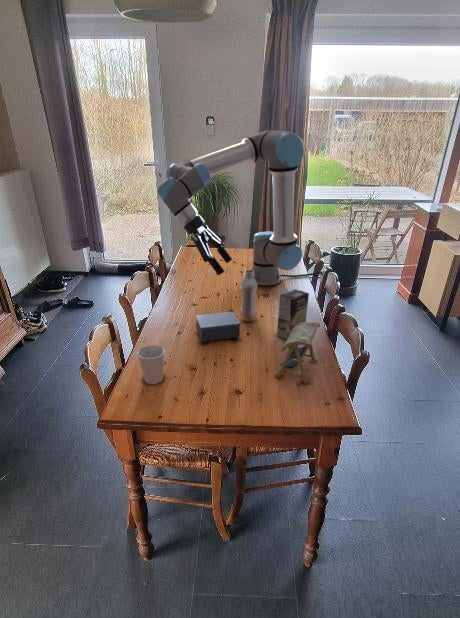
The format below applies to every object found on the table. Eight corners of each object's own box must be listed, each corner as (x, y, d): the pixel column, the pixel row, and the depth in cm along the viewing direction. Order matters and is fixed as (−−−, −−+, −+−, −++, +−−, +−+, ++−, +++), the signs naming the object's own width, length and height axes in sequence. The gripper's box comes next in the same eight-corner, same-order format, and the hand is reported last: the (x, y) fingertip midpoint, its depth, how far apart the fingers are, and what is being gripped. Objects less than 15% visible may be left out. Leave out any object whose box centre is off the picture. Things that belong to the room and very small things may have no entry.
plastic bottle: (255, 323, 170) (256, 274, 159) (238, 322, 171) (238, 273, 160) (257, 317, 175) (259, 269, 165) (241, 315, 176) (242, 268, 166)
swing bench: (288, 356, 149) (292, 317, 141) (316, 361, 146) (321, 321, 138) (276, 378, 137) (279, 336, 129) (306, 384, 134) (311, 342, 126)
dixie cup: (144, 388, 132) (140, 360, 126) (137, 375, 138) (133, 347, 133) (170, 382, 135) (168, 355, 129) (162, 369, 141) (160, 342, 136)
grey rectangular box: (233, 328, 167) (233, 311, 163) (240, 340, 158) (240, 323, 154) (196, 332, 164) (195, 315, 160) (201, 345, 155) (200, 327, 151)
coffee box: (289, 341, 158) (293, 300, 149) (276, 335, 162) (279, 295, 153) (305, 333, 163) (309, 293, 155) (291, 327, 167) (295, 288, 159)
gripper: (192, 217, 170) (225, 261, 177) (172, 235, 149) (210, 284, 156) (207, 206, 166) (239, 251, 173) (188, 222, 146) (226, 273, 153)
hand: (225, 267), depth 165 cm, fingers open, 13 cm apart
